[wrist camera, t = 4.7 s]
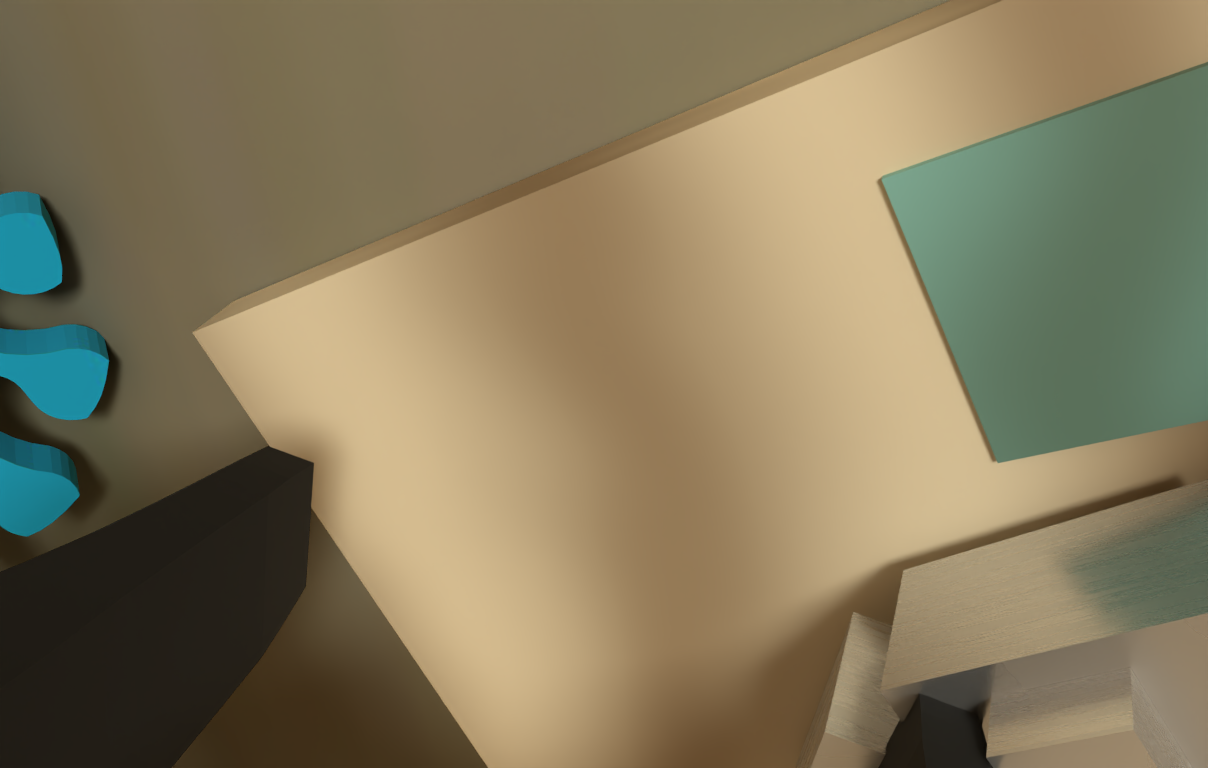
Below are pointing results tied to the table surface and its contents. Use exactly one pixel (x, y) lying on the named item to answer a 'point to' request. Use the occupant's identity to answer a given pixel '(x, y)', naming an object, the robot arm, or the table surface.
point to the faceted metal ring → (1043, 646)
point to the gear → (41, 371)
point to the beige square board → (756, 373)
